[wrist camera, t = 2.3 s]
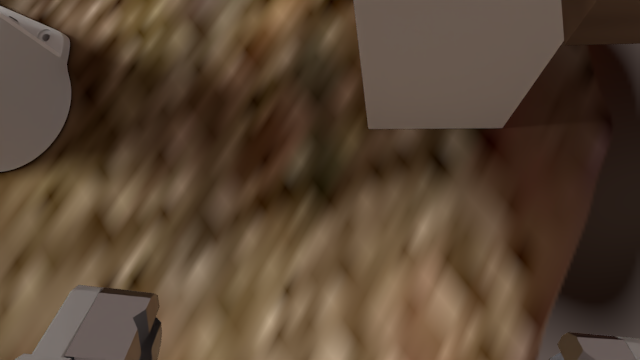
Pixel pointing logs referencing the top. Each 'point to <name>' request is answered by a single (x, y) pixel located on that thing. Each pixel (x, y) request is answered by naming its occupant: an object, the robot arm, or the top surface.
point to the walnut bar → (601, 22)
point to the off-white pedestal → (452, 59)
